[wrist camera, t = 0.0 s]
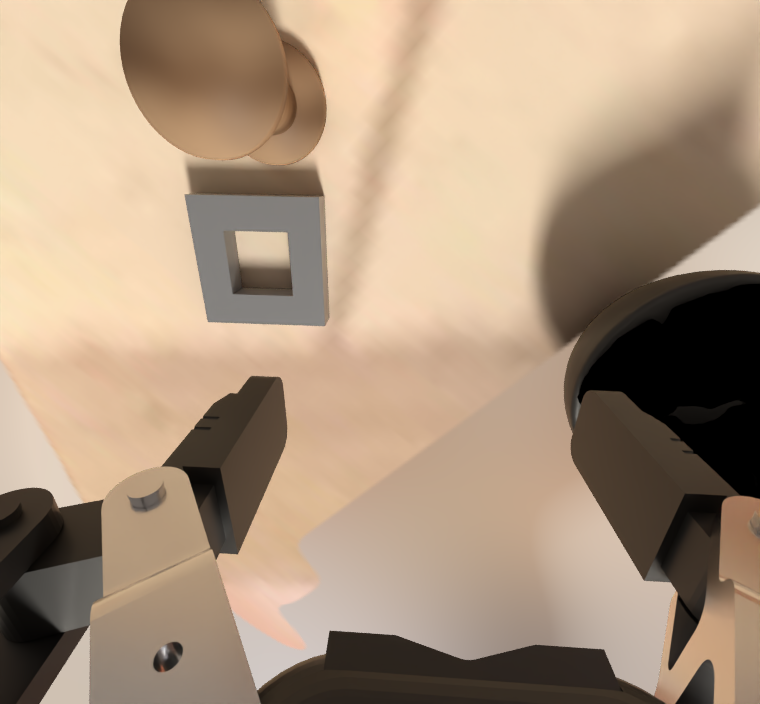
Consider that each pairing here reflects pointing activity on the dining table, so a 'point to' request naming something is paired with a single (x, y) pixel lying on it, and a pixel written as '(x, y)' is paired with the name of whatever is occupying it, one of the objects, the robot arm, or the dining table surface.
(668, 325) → the bowl of black rocks
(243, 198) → the block with square hole
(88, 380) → the dining table surface
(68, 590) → the robot arm
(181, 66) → the bobbin
